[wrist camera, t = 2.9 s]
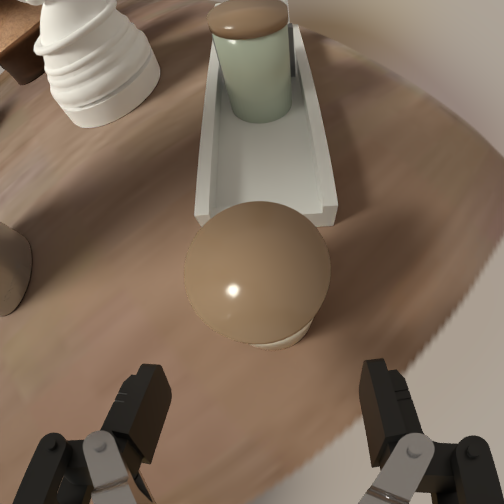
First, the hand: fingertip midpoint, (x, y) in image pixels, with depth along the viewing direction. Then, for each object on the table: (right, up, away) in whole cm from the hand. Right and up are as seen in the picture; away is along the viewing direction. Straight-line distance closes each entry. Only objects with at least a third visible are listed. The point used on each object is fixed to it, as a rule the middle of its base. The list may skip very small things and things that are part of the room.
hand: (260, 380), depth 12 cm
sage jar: (+1, +19, +15) cm, 24 cm away
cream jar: (+1, +1, +10) cm, 10 cm away
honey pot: (-18, +25, +21) cm, 37 cm away
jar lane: (+1, +18, +16) cm, 24 cm away
